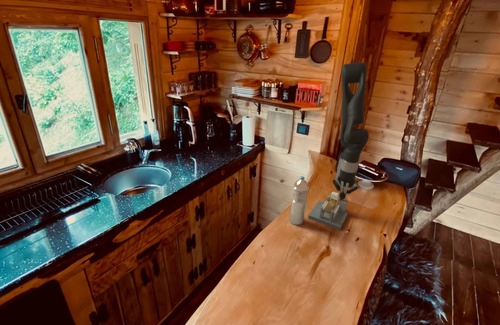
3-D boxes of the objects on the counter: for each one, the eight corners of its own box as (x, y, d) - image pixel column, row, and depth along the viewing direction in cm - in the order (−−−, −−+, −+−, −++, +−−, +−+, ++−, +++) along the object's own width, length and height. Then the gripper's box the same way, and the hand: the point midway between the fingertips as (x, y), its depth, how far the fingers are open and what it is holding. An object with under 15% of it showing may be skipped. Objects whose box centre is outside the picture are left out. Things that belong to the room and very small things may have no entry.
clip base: (318, 203, 150) (320, 191, 147) (348, 213, 143) (351, 200, 139) (307, 218, 138) (310, 205, 134) (339, 230, 130) (342, 216, 127)
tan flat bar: (331, 199, 144) (331, 197, 143) (337, 201, 142) (337, 199, 142) (323, 211, 133) (323, 210, 133) (329, 213, 132) (329, 212, 131)
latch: (331, 195, 143) (332, 190, 142) (339, 197, 142) (340, 192, 140) (329, 197, 141) (330, 192, 140) (337, 200, 139) (338, 195, 138)
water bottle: (292, 215, 140) (298, 172, 129) (305, 220, 136) (312, 176, 125) (287, 222, 134) (292, 178, 123) (300, 227, 131) (307, 182, 120)
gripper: (333, 167, 132) (327, 197, 140) (361, 175, 126) (353, 206, 133) (337, 162, 138) (331, 191, 145) (364, 169, 132) (357, 199, 139)
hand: (342, 198), depth 139 cm, fingers closed
